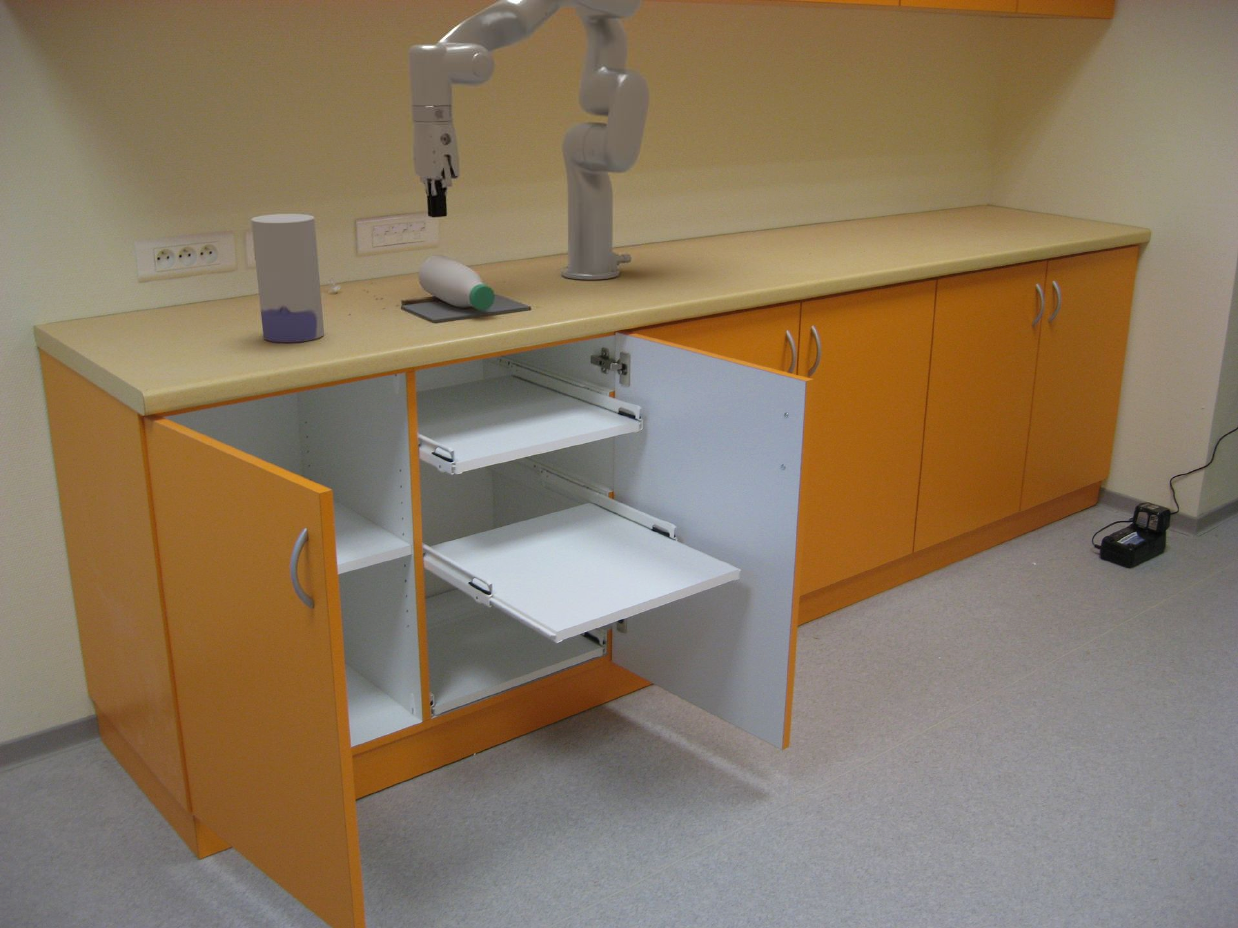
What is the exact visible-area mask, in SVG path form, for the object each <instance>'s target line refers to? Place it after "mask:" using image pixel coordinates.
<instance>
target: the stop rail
mask: <svg viewBox="0 0 1238 928" xmlns="http://www.w3.org/2000/svg"><path fill="white" fill-rule="evenodd" d="M434 301H442V300H441V299H439V298H437V297H435V296H433V295H432V296H431V295H430V296H423V297H416V298H409V299H401V306H403V305H411V304H419V303H427V302H434Z"/></svg>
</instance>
